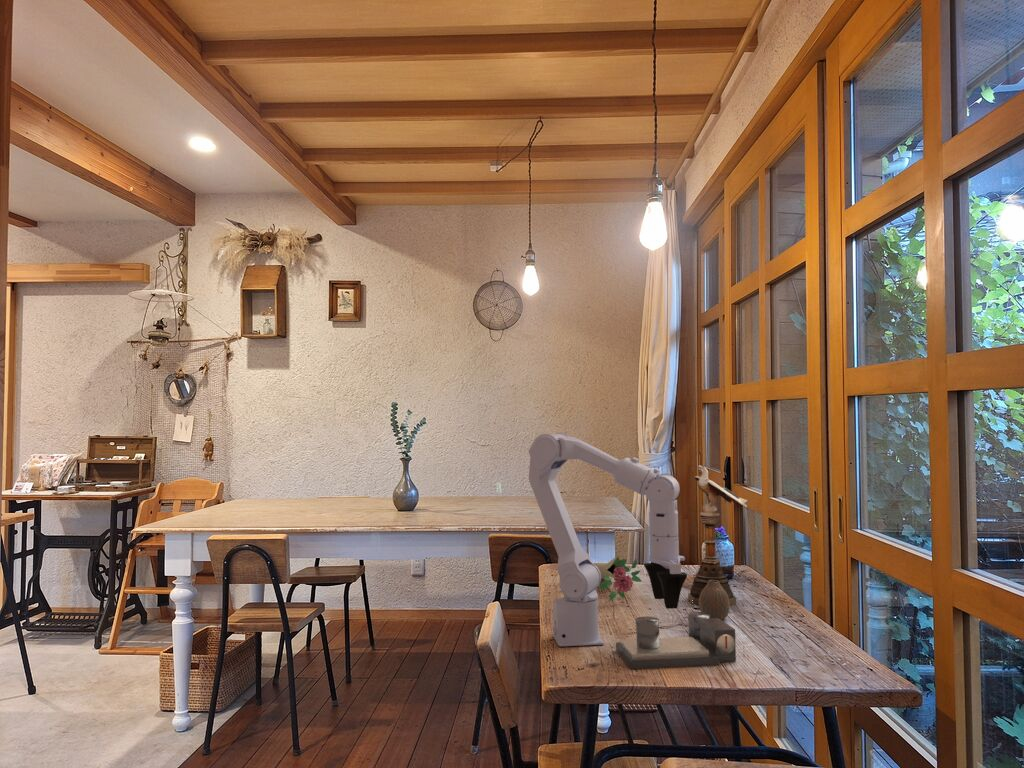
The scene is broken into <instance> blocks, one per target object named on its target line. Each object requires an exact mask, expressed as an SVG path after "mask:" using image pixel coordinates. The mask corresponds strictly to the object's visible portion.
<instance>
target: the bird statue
mask: <svg viewBox="0 0 1024 768" xmlns="http://www.w3.org/2000/svg"><path fill="white" fill-rule="evenodd" d="M697 469H698V470H699V471H700V472H701V475H700V476H699V475H696V476H694V477H693V478H694V480H696V481H697V486H698V487H699V489H700V490H701V492H703V493H704V494H705V495H706V500H707V501H708V502H707V503H704V504H703V506H702V507H701V509H702V511H701V512H699V516H700V517H701V518H700V523H701V524H703V525H704V526H703V528H704V533H705V535H704V541H703V542H704V544H705V556H704V557H703V558H702V559H701V561H700V562H701V564H700V566H699V569H698V571H697V573H695V576H694V577H693V582H692V585H691V588H690V591H689V592H688V593H687V594H688V595H687V600H688V599H689V600H690V601H689V600H688V601H689V602H690V604H692V602H693V604H692V605H694V604H696V605H695V606H699V597H700V594H701V592H702V590H703V589H704V587H705V586H706V585H707V583H708V581H709V580H718V581H719V582H720V585H721V586H722V587H723V589H724V590H725V591H726V593H727V595H728V597H729V602H730V607H731V606H735V605H737V596H735V595H734V593H733V591H732V589H731V585H730V583H729V582H730V580H728V578H727V577H728V576H727V575H726V574H725V573H724V571H723V569H722V567H721V561H720V559H718V558H717V556H716V544H717V543H718V542H717V540H716V527H717V525H718V524H719V523H720V521H719V520H720V519H719V518H720V516H721V513H719V512H718V507H717V503H718V499H719V498H718V497H719V496H720V497H721V498H723V499H724V500H725V501H726V502H727V503H730V504H731V503H732V502H733V503H736V504H739V505H741V506H743V508H744V509H748V506H747V503H748V502H749V501H748V500H747V499H746V498H742V497H739V496H738V495H736V494H735V493H734V492H732V491H731V490H729V489H728V488H727V487H722V486H720V485H718V484H717V483H716V482H715V481H713V480H711V479H709V477H710V475H709V471H708V469H707V467H705V466H703V465H700V464H699V465H697ZM692 600H693V601H692Z"/></svg>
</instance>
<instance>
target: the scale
mask: <svg viewBox="0 0 1024 768" xmlns="http://www.w3.org/2000/svg"><path fill="white" fill-rule="evenodd" d="M615 651H616V652H617V653H618V655H619V656H620V658H621V659H622V660H623V661H624V662H625V664H626V665H627V666H628V668H630V670H640V669H641V670H642V669H643V670H645V669H663V668H665V669H666V668H683V667H685V668H687V667H701V666H703V667H704V666H707V667H708V666H719V665H720V663H730V662H731V663H732V662H734V663H735V662H736V661H737V647H736V629H735V628H733V626H731V625H729V624H728V623H726V622H725V621H724V620H720V619H719V618H713V619H700V641H699V640H698V639H694V638H693V637H689V636H681V637H680V636H677V637H660V647H658V648H655V649H644V648H640V647H638V646H637V638H630V639H619V642H615Z"/></svg>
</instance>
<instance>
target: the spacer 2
mask: <svg viewBox="0 0 1024 768" xmlns="http://www.w3.org/2000/svg"><path fill="white" fill-rule="evenodd" d="M687 616H688V617H687V623H688V627H687V628H688V637H693V638H694V639H698V640H699V641H700V619H710V615H709V614H707V613H703V612H701V611H693V612H692V611H691V612H689V613H688V614H687Z"/></svg>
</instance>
